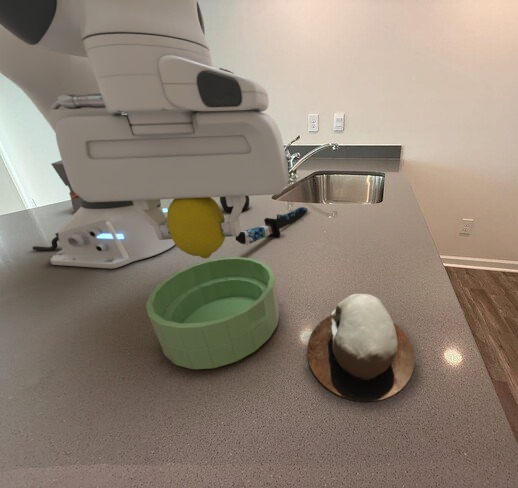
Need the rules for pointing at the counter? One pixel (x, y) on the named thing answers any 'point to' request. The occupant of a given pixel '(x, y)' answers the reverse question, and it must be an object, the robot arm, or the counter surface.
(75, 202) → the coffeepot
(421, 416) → the counter surface
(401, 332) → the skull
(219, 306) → the green pet bowl
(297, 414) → the counter surface
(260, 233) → the knife
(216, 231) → the lemon
